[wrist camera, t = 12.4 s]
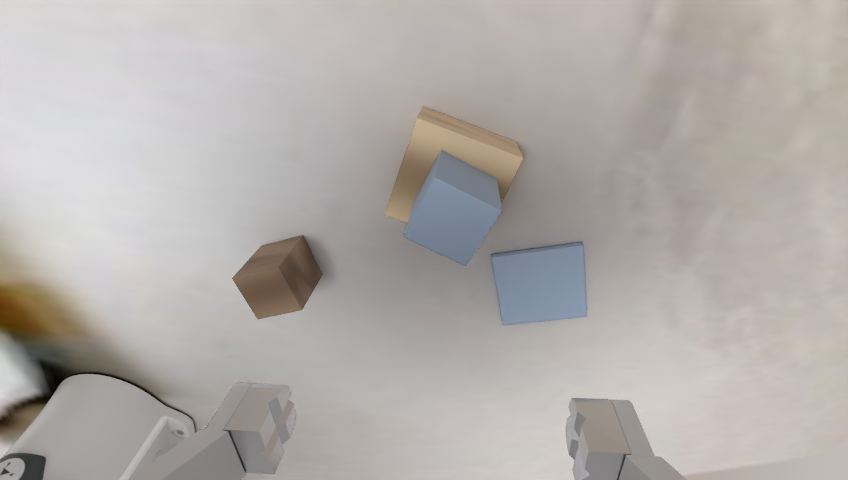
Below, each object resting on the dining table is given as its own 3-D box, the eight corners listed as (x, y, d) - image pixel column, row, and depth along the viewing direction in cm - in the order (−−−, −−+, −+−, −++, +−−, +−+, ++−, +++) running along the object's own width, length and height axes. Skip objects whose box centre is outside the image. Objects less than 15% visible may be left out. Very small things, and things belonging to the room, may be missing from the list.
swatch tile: (585, 313, 35) (586, 316, 34) (502, 321, 36) (502, 325, 36) (581, 242, 32) (583, 245, 31) (491, 254, 33) (491, 257, 33)
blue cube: (466, 227, 28) (465, 266, 24) (413, 201, 27) (403, 236, 23) (496, 178, 26) (502, 211, 22) (441, 149, 26) (435, 177, 21)
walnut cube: (322, 274, 36) (302, 310, 31) (283, 282, 37) (257, 319, 32) (302, 235, 34) (278, 267, 30) (261, 245, 35) (232, 278, 31)
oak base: (477, 223, 32) (478, 248, 29) (393, 193, 32) (384, 215, 28) (516, 141, 29) (523, 158, 25) (423, 105, 28) (417, 117, 25)
